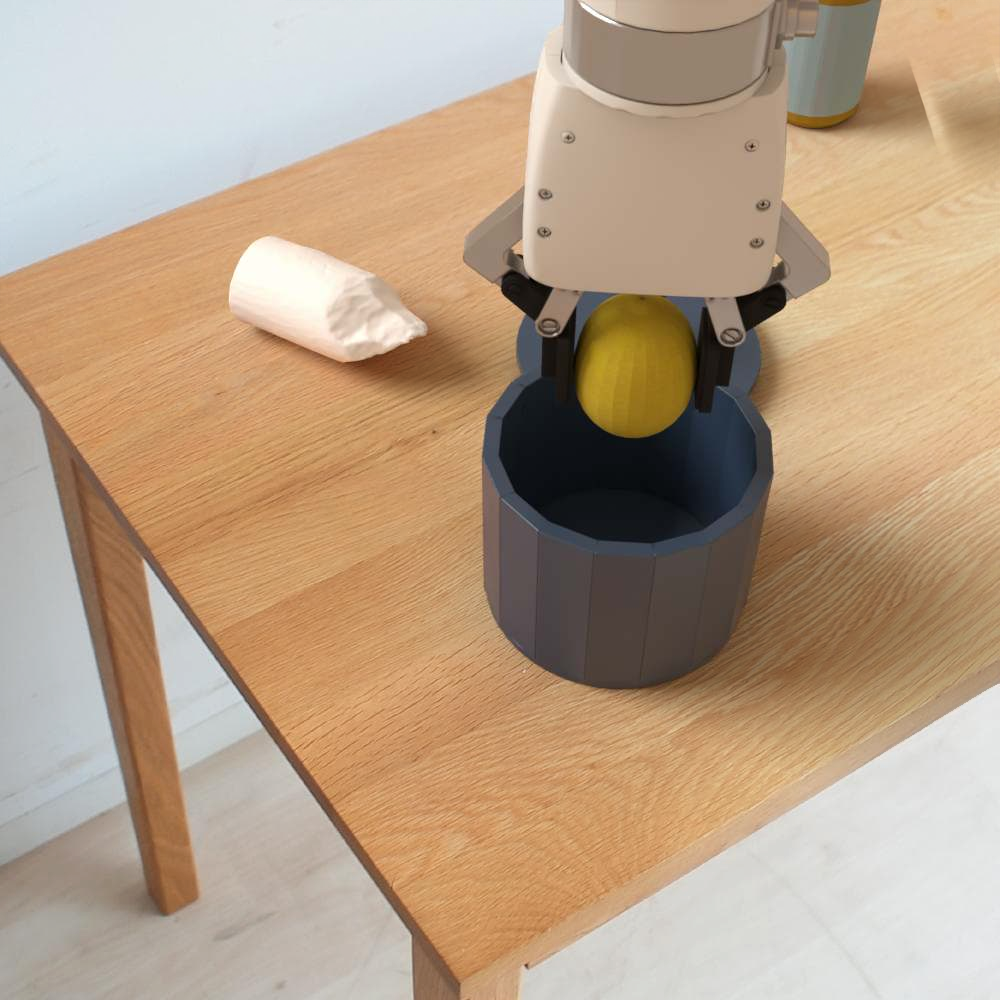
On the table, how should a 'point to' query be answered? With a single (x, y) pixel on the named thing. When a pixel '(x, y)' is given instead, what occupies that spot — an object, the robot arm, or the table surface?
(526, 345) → the pot lid
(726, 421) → the pot
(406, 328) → the broken white chalk
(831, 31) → the bottle
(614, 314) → the lemon
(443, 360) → the table surface
